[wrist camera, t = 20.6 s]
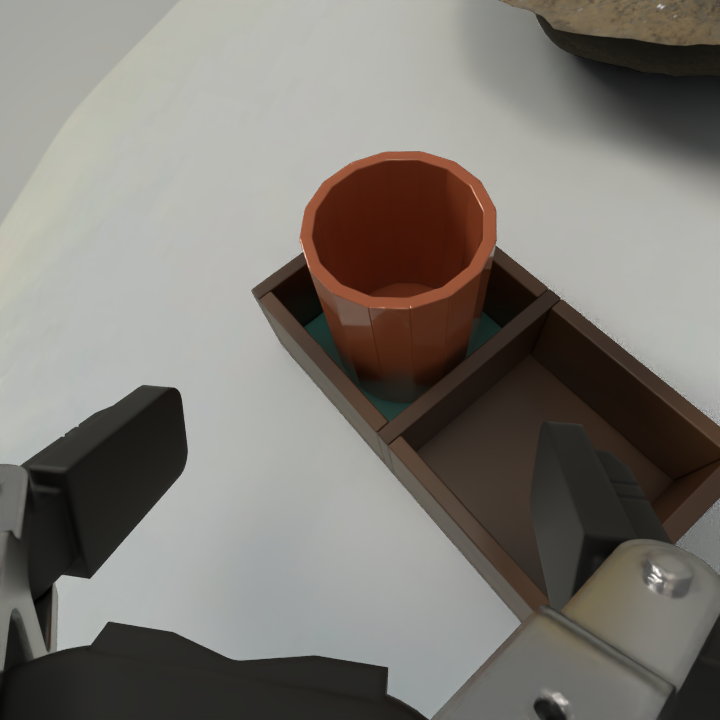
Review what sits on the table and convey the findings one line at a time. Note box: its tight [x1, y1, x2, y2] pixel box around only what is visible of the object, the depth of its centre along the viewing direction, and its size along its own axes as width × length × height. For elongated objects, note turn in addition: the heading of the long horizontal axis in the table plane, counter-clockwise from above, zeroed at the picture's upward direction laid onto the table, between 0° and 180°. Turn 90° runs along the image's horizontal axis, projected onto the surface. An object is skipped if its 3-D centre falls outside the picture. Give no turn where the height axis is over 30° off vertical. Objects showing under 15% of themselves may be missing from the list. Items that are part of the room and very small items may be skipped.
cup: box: [300, 151, 497, 403], centre depth 20 cm, size 6×6×8 cm
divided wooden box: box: [251, 246, 720, 623], centre depth 21 cm, size 16×8×5 cm, turn 39°
